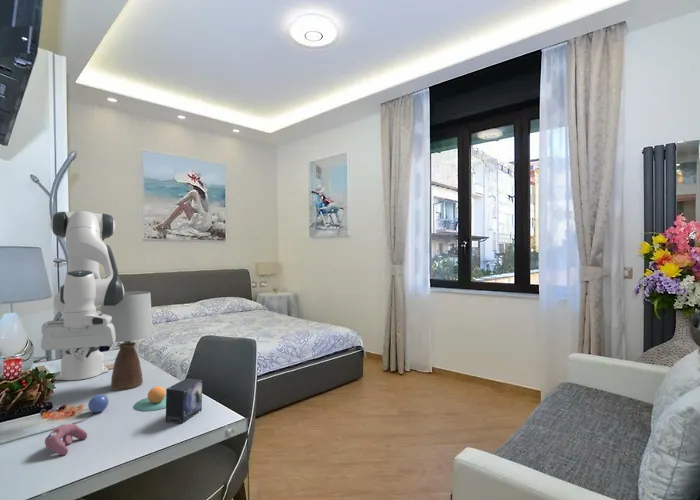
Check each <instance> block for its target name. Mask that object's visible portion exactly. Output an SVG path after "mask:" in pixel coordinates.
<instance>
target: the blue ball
mask: <svg viewBox="0 0 700 500" xmlns="http://www.w3.org/2000/svg"><path fill="white" fill-rule="evenodd" d="M108 405H109V399H108V396H107V395H105V394H96V395H94V396H93V397H91V398H90V399H89V401H88V403H87V407H88V409H89V411H91V412H92V413H95V414H96V413H101V412H103V411H105V410H106V409H107V407H108Z"/></svg>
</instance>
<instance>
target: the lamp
mask: <svg viewBox="0 0 700 500" xmlns="http://www.w3.org/2000/svg"><path fill="white" fill-rule="evenodd" d="M151 298H152V297H151V291H143V290H142V291H138V290H137V291H124V297H123V300H122V301H120V302H119V303H118V304H116V305H115V306H104V305H101V310H100V311H101V312H100V313H101V314H105V315H110V316H111V317H112V320H111V322H110V323H112V324H113V325H114V328H115V335H116V341H115V342H114V343H119V344H118V345H117V346H118V348H119V350H118V351H117V352H118V353H117V355H116V356H115V360H114V364H113V367H112V373H111V379H110V389H111V390H114V391H122V390H123V391H124V390H130V389H134V388H137V387H139V386H141V385H143V383H144V379H143V371H142V368H141V361H140V358H139V355H138V353H137V351H136V348H135V346H137V345H136V342H134V341H138V340H143V339H147V338H150V337H152V336H153V335H154V325H153V315H152V314H153V312H152V299H151ZM120 342H121V343H120Z"/></svg>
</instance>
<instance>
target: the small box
mask: <svg viewBox="0 0 700 500" xmlns="http://www.w3.org/2000/svg"><path fill="white" fill-rule="evenodd" d="M165 393H166V394H165V395H166V408H165V423H174V424H175V423H176V424H183V422H184V423H185V422H187V421H188V420H190V419H191V418H192V417H194V416H196V415H197V414H198V413H200V412H202V411H201V410H203V403H202V402H203V379H198V378H197V379H196V378H195V379H194V378H185V379H183V380H181V381H179V382H177V383H175V384H173V385H171V386H169V387H167V388H166V389H165ZM199 411H200V412H199ZM193 415H194V416H193ZM189 418H190V419H189ZM186 420H187V421H186Z"/></svg>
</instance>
